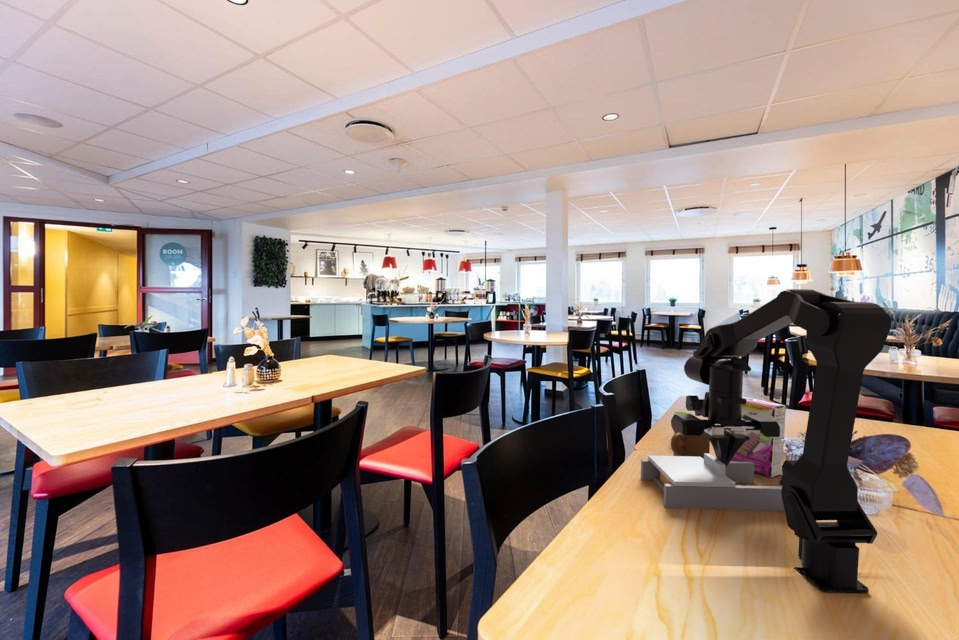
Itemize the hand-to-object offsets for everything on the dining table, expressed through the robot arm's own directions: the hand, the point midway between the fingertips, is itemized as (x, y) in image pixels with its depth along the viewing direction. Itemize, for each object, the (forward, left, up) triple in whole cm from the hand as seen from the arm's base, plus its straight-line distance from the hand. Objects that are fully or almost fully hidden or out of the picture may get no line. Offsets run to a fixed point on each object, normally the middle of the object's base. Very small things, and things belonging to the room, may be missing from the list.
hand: (722, 467), depth 82 cm
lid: (0, +7, -1) cm, 7 cm away
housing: (0, +2, -6) cm, 7 cm away
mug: (+14, 0, -6) cm, 16 cm away
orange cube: (+3, +8, -5) cm, 10 cm away
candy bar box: (+15, -16, -6) cm, 23 cm away
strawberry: (+33, -8, -6) cm, 35 cm away
